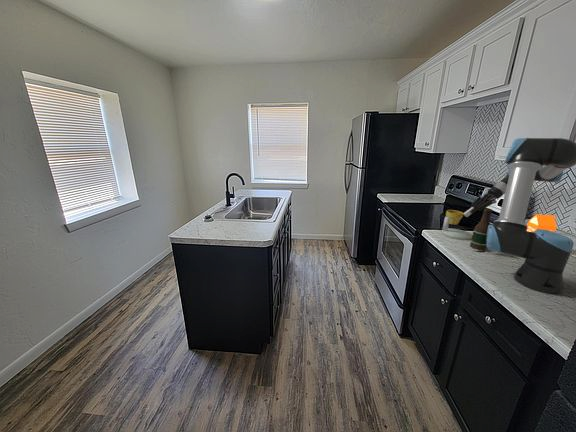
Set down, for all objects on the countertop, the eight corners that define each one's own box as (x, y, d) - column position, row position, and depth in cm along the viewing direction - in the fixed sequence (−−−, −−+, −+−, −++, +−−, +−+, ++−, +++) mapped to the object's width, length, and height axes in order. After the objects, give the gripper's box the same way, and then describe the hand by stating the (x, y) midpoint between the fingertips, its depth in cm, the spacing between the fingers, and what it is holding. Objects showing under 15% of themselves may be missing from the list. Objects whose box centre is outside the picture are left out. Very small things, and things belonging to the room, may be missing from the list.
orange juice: (548, 251, 138) (560, 217, 132) (530, 249, 140) (541, 216, 134) (537, 245, 145) (549, 213, 139) (520, 244, 147) (530, 212, 141)
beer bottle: (470, 250, 137) (480, 209, 130) (468, 245, 144) (478, 206, 137) (487, 253, 134) (499, 211, 127) (484, 248, 140) (495, 208, 133)
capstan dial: (472, 234, 158) (476, 218, 155) (470, 242, 146) (475, 225, 142) (443, 228, 167) (446, 214, 164) (439, 235, 155) (443, 219, 152)
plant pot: (463, 227, 175) (467, 214, 172) (449, 226, 175) (452, 213, 172) (454, 222, 184) (457, 209, 181) (440, 222, 185) (443, 209, 182)
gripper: (510, 197, 148) (475, 222, 153) (493, 192, 160) (461, 216, 165) (503, 188, 146) (468, 214, 151) (487, 184, 159) (455, 208, 164)
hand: (465, 215), depth 158 cm, fingers closed
